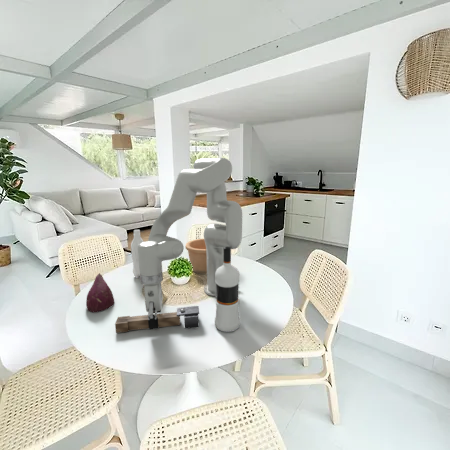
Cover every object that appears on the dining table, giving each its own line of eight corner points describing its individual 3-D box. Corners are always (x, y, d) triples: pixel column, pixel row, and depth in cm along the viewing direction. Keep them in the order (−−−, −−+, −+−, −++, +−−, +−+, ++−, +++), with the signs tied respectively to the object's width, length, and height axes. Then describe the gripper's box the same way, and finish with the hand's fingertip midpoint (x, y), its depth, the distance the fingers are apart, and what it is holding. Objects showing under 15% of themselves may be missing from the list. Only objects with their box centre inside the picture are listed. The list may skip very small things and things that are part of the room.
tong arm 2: (180, 319, 95) (179, 310, 94) (180, 322, 93) (179, 313, 93) (118, 325, 92) (117, 316, 91) (117, 328, 90) (116, 320, 89)
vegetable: (96, 306, 111) (92, 272, 111) (119, 304, 110) (115, 269, 110) (81, 314, 100) (77, 277, 101) (106, 311, 100) (101, 274, 100)
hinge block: (198, 315, 98) (198, 302, 96) (199, 327, 91) (199, 313, 90) (177, 318, 97) (177, 304, 95) (177, 329, 90) (176, 315, 89)
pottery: (229, 273, 136) (229, 248, 132) (188, 278, 131) (187, 251, 128) (220, 259, 156) (220, 237, 153) (184, 262, 151) (183, 239, 148)
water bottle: (150, 275, 134) (147, 229, 129) (139, 280, 128) (135, 232, 123) (141, 272, 138) (137, 228, 132) (130, 277, 132) (126, 230, 126)
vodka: (215, 334, 87) (214, 252, 80) (214, 318, 96) (212, 243, 89) (241, 332, 88) (242, 251, 81) (238, 316, 97) (238, 242, 90)
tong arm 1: (180, 322, 93) (179, 314, 92) (180, 325, 91) (179, 317, 90) (117, 329, 90) (116, 320, 89) (116, 332, 88) (115, 323, 87)
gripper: (160, 287, 80) (164, 334, 84) (164, 266, 96) (167, 306, 100) (135, 289, 79) (140, 337, 83) (144, 267, 95) (147, 308, 99)
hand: (155, 320), depth 92 cm, fingers open, 9 cm apart
